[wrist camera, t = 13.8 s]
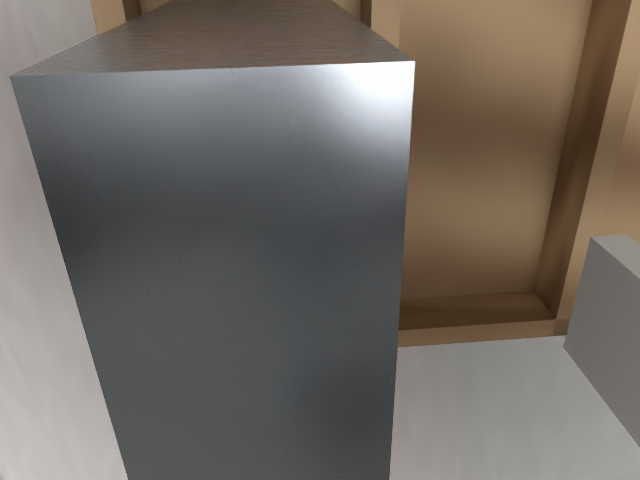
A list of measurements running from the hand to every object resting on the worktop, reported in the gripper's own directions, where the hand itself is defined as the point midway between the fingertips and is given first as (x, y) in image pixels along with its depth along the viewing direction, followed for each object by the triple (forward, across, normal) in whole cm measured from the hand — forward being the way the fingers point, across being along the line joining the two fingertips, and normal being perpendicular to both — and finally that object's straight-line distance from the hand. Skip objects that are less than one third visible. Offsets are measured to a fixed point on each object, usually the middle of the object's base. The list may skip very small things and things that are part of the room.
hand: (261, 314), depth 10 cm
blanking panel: (+9, 0, 0) cm, 9 cm away
